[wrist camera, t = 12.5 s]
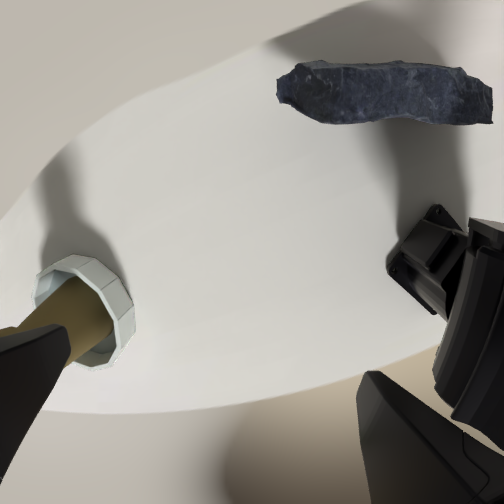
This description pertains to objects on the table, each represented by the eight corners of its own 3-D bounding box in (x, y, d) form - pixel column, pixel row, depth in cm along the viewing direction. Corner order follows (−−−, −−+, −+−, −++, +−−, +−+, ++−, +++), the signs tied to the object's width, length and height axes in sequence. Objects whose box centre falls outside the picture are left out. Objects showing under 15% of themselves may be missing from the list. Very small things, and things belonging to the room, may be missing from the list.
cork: (52, 278, 21) (-36, 333, 11) (102, 272, 21) (4, 339, 10) (74, 339, 23) (4, 408, 12) (124, 340, 22) (54, 428, 11)
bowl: (152, 303, 22) (138, 319, 19) (113, 369, 24) (100, 387, 21) (67, 233, 21) (46, 241, 18) (42, 309, 23) (26, 321, 20)
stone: (430, 53, 15) (505, 5, 5) (464, 123, 16) (555, 110, 7) (269, 105, 17) (265, 40, 8) (309, 186, 19) (347, 200, 9)
